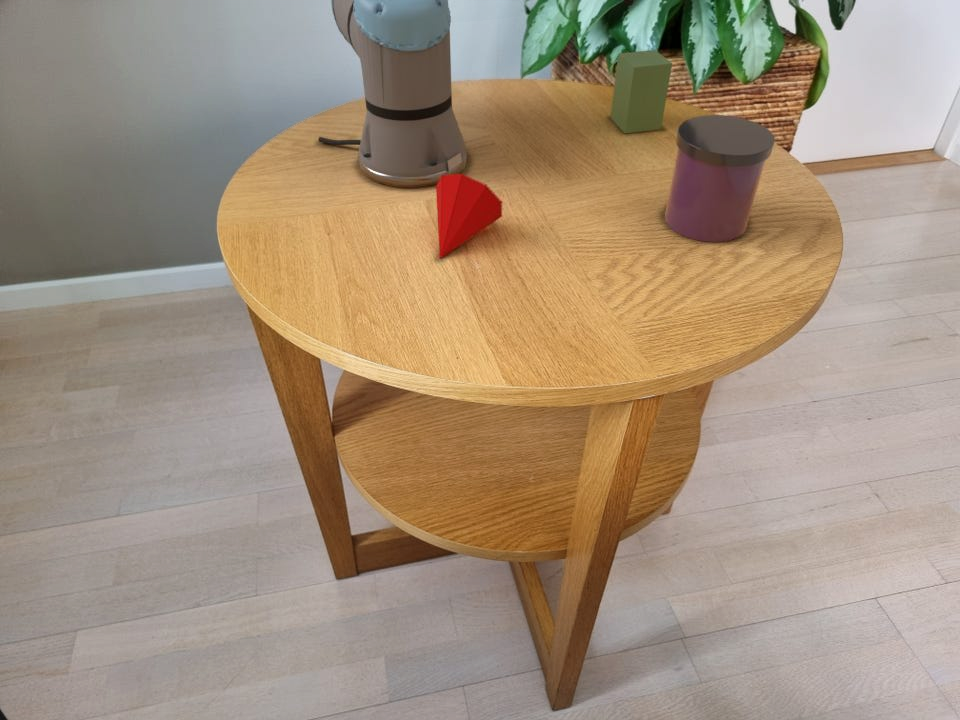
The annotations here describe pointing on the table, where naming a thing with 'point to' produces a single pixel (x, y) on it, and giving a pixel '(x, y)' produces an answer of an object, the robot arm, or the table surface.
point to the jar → (716, 176)
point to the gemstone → (463, 210)
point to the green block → (640, 91)
